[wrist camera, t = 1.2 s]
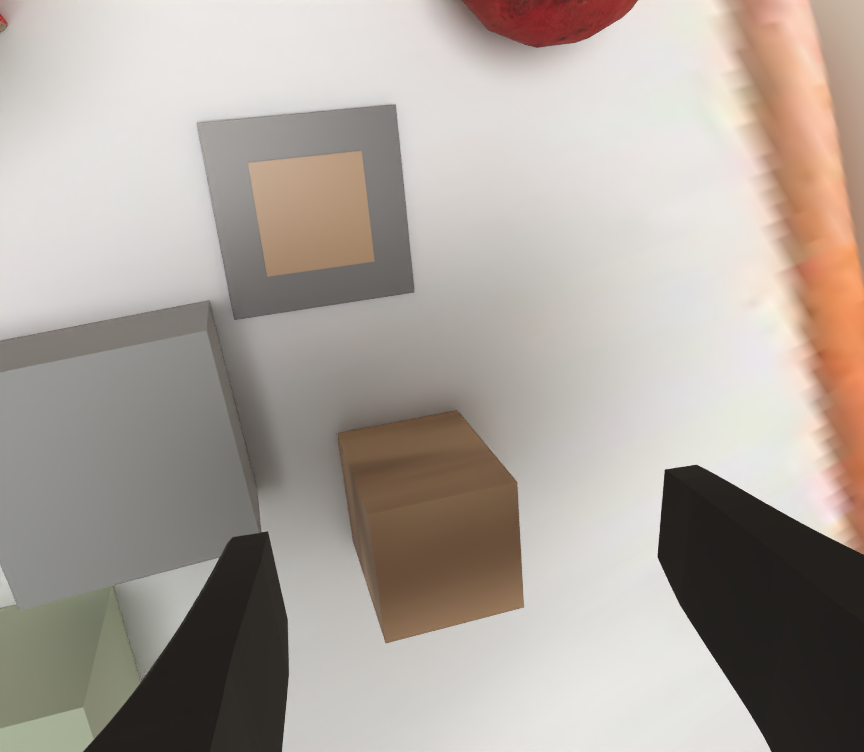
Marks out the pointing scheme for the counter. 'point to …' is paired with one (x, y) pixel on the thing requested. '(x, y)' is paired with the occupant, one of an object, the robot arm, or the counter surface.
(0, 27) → the stack of blocks
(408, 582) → the walnut block
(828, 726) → the robot arm
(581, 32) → the onion
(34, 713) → the sage block
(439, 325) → the counter surface
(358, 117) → the card
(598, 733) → the counter surface
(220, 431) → the slate base block
